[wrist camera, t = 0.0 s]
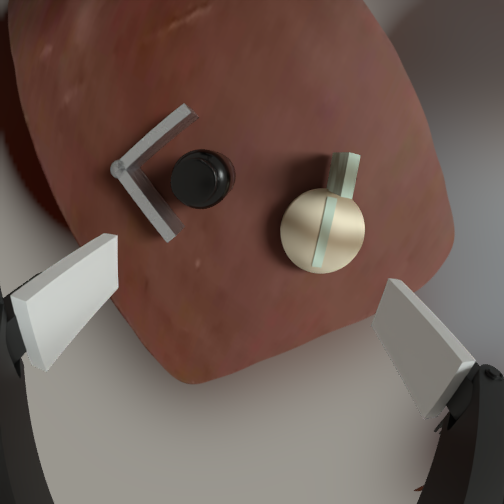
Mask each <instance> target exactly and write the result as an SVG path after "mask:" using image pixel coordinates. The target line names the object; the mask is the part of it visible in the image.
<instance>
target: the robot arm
mask: <svg viewBox="0 0 504 504" xmlns="http://www.w3.org/2000/svg"><path fill="white" fill-rule="evenodd" d="M117 236H118V235H112V234H106V233H104V234H102V235H100V236H98V237H97V238H95V239H93V240H92V241H90V242H89V243H87V244H85V245H84V246H82V247H80V248H79V249H77V250H76V251H74V252H72V253H71V254H70V255H68V256H66V257H65V258H63V259H62V260H60V261H59V262H57V263H56V264H54V265H53V266H51V267H50V268H48V269H47V270H45V271H44V272H41V273H39V274H36V275H35V276H33V277H32V278H31V279H29V281H26V282H25V283H24V284H23V285H21V286H19V287H18V288H17V289H15V290H14V291H12V292H11V293H10V294H8V295H7V296H6V297H4V298H3V297H2V293H1V288H0V504H54V502H53V499H52V497H51V494H50V492H49V489H48V486H47V483H46V480H45V477H44V473H43V470H42V467H41V463H40V460H39V456H38V453H37V448H36V444H35V440H34V436H33V431H32V426H31V421H30V415H29V408H28V402H27V394H26V385H25V375H24V364H23V361H22V359H21V357H22V356H23V354H24V353H25V352H27V355H28V358H29V360H30V363H31V365H33V366H35V367H37V368H39V369H41V370H44V371H48V369H49V368H50V367H51V365H52V364H53V363H54V361H55V360H56V359H57V358H58V357H59V355H60V354H61V353H62V352H63V351H64V349H65V348H66V347H67V346H68V344H69V343H70V342H71V341H72V340H73V338H74V337H75V336H76V335H77V334H78V332H79V331H80V330H81V329H82V328H83V327H84V325H85V324H86V323H87V322H88V321H89V320H90V319H91V317H92V316H93V315H94V314H95V313H96V312H97V311H98V310H99V308H100V307H101V306H102V305H103V304H104V303H105V302H106V300H108V298H109V297H110V296H111V295H112V294H113V293H114V292H115V291H116V290H117V289H118V260H117ZM371 326H372V328H373V330H374V331H375V333H376V335H377V337H378V338H379V340H380V341H381V343H382V345H383V347H384V348H385V350H386V352H387V354H388V355H389V357H390V358H391V360H392V362H393V364H394V366H395V368H396V369H397V371H398V373H399V375H400V377H401V378H402V380H403V382H404V384H405V386H406V387H407V389H408V391H409V393H410V395H411V397H412V399H413V401H414V402H415V404H416V406H417V408H418V410H419V412H420V414H421V416H422V418H423V419H429V418H434V417H437V416H438V415H439V414H440V413H441V412H442V410H443V409H444V408H445V406H447V407H448V409H449V412H448V414H447V415H446V416H445V417H444V419H443V420H442V421H441V422H440V424H439V425H438V426H437V427H436V429H435V430H434V432H437V430H438V429H439V428H442V430H441V432H440V433H439V434H440V438H439V442H438V445H437V449H436V452H435V456H434V459H433V462H432V465H431V468H430V471H429V474H428V477H427V479H426V482H425V485H424V487H423V490H422V492H421V495H420V497H419V500H418V502H417V504H504V377H503V375H502V374H501V372H500V371H498V370H497V369H496V368H495V367H493V366H490V365H487V364H483V365H481V366H479V365H478V363H476V360H475V359H474V358H473V357H472V355H470V353H469V352H468V351H467V350H466V349H465V348H464V346H463V345H462V344H461V343H460V342H459V341H458V340H457V338H456V337H455V336H454V335H453V334H452V333H451V332H450V331H449V330H448V328H447V327H446V326H445V325H444V324H443V323H442V322H441V321H440V320H439V319H438V318H437V316H436V315H435V314H434V313H433V312H432V311H431V310H430V309H429V308H428V307H427V306H426V305H425V304H424V303H423V302H422V301H421V300H420V299H419V298H418V297H417V296H416V295H415V294H414V293H413V292H412V291H411V290H410V289H409V288H408V287H407V286H406V285H405V284H404V283H403V282H402V281H401V280H397V279H390V278H388V281H387V284H386V287H385V290H384V293H383V295H382V298H381V301H380V303H379V306H378V309H377V311H376V314H375V316H374V319H373V322H372V324H371Z"/></svg>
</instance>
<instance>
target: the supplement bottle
mask: <svg viewBox="0 0 504 504" xmlns="http://www.w3.org/2000/svg"><path fill="white" fill-rule="evenodd" d="M235 177H236V174H235V169H234V166H233V164H232V162H231V161H230V160H229V159H228V158H227V157H226V156H225V155H223V154H221V153H218V152H215V151H210V150H205V149H199V150H193V151H190V152H188V153H186V154H185V155H183V156H182V157H181V158H180V159H179V160H178V161H177V163H176V164H175V166H174V168H173V171H172V176H171V182H170V183H171V188H172V192H173V193H174V195H175V196H176V197H177V199H179V200H180V201H181V202H182V203H183V204H185V205H186V206H189V207H191V208H195V209H207V208H210V207H213V206H215V205H216V204H218V203H219V202H221V201H222V200H223V199H224V197H225V196H226V195H227V194H228V193H229V192H230V191H231V189H232V187H233V185H234V183H235Z"/></svg>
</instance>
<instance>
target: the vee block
mask: <svg viewBox="0 0 504 504" xmlns="http://www.w3.org/2000/svg"><path fill="white" fill-rule="evenodd" d="M198 118H199V117H198V116H197V114H196V113H195V112H194V111H193V109H191V108H190V107H188V106H187V105H186V104H183V105H181V106H180V107H179V108H177V109H176V110H175V111H174V112H172V113H171V114H170V115H169V116H168V117H166V118H165V119H164V120H163V121H162V122H160V123H159V124H158V125H157V126H156V127H155V128H153V129H152V130H151V131H150V132H149V133H148V134H147V135H145V136H144V137H143V138H142V139H141V140H140V141H139V142H138V143H137V144H136V145H135V146H133V147H132V148H131V149H130V150H129V151H128V152H127V153H126V154H125V155H124V156H123V157H122V158H121V159H120V160H116V161H114V162H113V163H112V165H111V168H110V171H111V174H112V175H113V176H114V177H115V178H118V179H119V181H120V182H121V183H122V185H123V186H124V187H125V189H126V190H127V191H128V193H129V194H130V195H131V197H132V198H133V199H134V201H135V202H136V203H137V205H138V206H139V207H140V209H141V210H142V211H143V213H144V214H145V215H146V217H147V218H148V219H149V220H150V222H151V223H152V224H153V226H154V227H155V228H156V229H157V231H158V232H159V233H160V235H161V236H162V237H163V238H164V240H165V241H166V242H167V243H168V242H169V241H170V240H172V239H173V238H174V237H175V236H176V235H177V234H178V233H179V232H180V231H181V230H182V229H183V228H184V227H185V226H184V225H183V223H182V222H181V221H180V220H179V218H178V217H177V216H176V214H175V213H174V212H173V211H172V209H171V208H170V207H169V205H168V204H167V203H166V202H165V200H164V199H163V198H162V196H161V195H160V194H159V192H158V191H157V190H156V188H155V187H154V186H153V184H152V183H151V182H150V180H149V179H148V178H147V176H146V175H145V174H144V172H143V171H142V170H141V168H140V167H141V166H142V165H143V164H144V163H145V162H146V161H147V160H149V159H150V158H151V157H152V156H153V155H154V154H155V153H156V152H158V151H159V150H160V149H161V148H162V147H163V146H165V145H166V144H167V143H168V142H169V141H171V140H172V139H173V138H174V137H175V136H177V135H178V134H179V133H180V132H182V131H183V130H184V129H185V128H187V127H188V126H189V125H190V124H192V123H193V122H194V121H196V120H197V119H198Z"/></svg>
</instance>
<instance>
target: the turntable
mask: <svg viewBox="0 0 504 504" xmlns="http://www.w3.org/2000/svg"><path fill="white" fill-rule="evenodd" d="M359 161H360V155H357V154H353V153H350V152H343V153H333V156H332V161H331V167H330V172H329V177H328V183H327V188H318V189H313V190H309V191H307V192H304V193H303V194H301V195H299V196H298V197H297V198H295V199H294V200H293V201H292V202H291V203H290V205H289V206H288V207H287V209H286V211H285V213H284V215H283V217H282V221H281V227H280V236H281V241H282V244H283V248H284V250H285V252H286V254H287V256H288V257H289V258H290V260H291V261H292V262H293V263H294V264H295V265H297V266H298V267H300V268H301V269H303V270H306V271H308V272H312V273H329V272H333V271H336V270H338V269H341V268H342V267H344V266H345V265H347V264H348V263H349V262H350V261H351V260H352V259H353V258H354V257H355V256H356V255H357V253H358V251H359V250H360V248H361V246H362V243H363V239H364V233H365V225H364V219H363V216H362V213H361V211H360V209H359V208H358V206H357V205H356V203H355V202H354V201H353V200H352V196H353V191H354V186H355V182H356V176H357V171H358V166H359Z"/></svg>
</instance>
